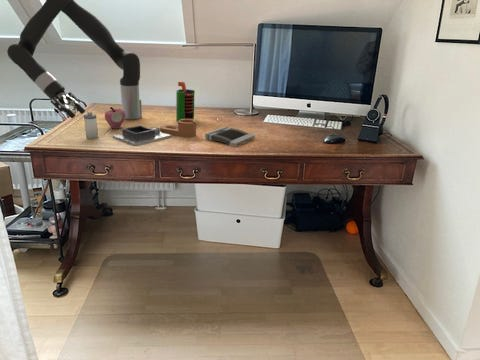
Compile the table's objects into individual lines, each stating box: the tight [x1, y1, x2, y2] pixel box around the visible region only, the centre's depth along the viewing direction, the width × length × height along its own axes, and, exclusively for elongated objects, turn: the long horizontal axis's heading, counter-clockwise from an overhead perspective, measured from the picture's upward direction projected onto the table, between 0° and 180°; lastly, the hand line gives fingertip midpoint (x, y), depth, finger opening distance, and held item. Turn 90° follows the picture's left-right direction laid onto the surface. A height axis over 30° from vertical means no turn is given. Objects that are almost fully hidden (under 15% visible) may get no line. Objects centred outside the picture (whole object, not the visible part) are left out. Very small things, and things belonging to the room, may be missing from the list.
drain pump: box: [83, 111, 99, 140], centre depth 168 cm, size 5×5×12 cm
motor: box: [175, 81, 195, 123], centre depth 202 cm, size 10×9×20 cm
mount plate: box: [112, 125, 172, 147], centre depth 174 cm, size 20×16×4 cm
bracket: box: [159, 119, 197, 139], centre depth 182 cm, size 18×8×7 cm, turn 69°
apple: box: [104, 106, 126, 129], centre depth 185 cm, size 10×9×10 cm
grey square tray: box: [204, 125, 255, 147], centre depth 179 cm, size 17×5×16 cm
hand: (79, 114), depth 167 cm, fingers open, 8 cm apart
